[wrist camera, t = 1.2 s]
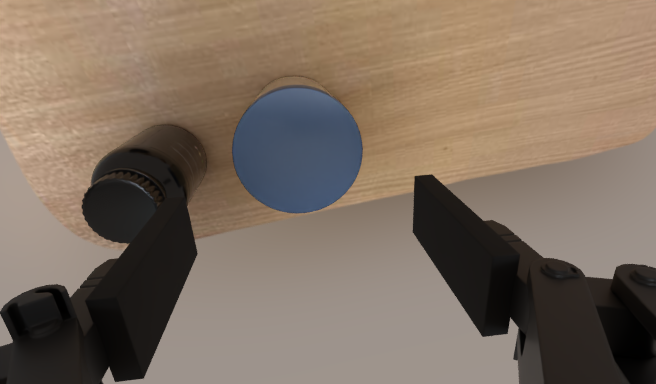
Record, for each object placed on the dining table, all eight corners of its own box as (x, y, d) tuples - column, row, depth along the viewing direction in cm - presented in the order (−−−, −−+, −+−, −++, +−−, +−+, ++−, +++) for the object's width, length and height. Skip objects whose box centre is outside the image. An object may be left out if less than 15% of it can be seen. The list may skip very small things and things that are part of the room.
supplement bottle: (156, 202, 36) (99, 271, 25) (119, 138, 34) (37, 183, 23) (221, 178, 36) (192, 237, 25) (188, 112, 34) (140, 145, 23)
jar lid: (244, 208, 28) (241, 219, 26) (225, 89, 25) (220, 92, 23) (359, 197, 28) (363, 207, 27) (356, 80, 25) (361, 82, 23)
